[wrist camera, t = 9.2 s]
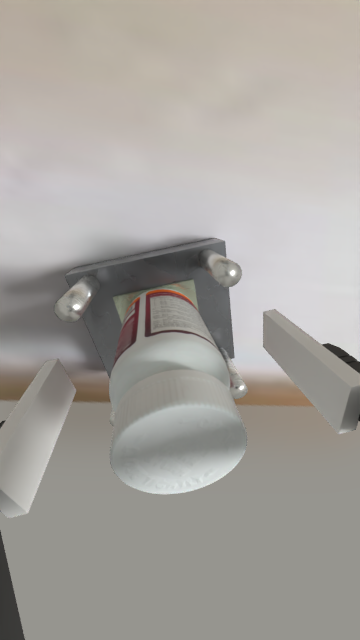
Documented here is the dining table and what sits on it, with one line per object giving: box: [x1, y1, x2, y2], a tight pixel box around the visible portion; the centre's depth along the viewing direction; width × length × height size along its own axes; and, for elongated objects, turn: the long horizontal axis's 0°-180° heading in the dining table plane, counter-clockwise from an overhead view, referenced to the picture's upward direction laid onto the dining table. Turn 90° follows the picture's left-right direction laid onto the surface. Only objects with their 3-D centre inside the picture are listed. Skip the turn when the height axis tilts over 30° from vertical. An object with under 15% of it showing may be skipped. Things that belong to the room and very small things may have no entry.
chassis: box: [54, 238, 248, 426], centre depth 17 cm, size 11×12×8 cm
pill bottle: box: [109, 288, 247, 494], centre depth 13 cm, size 6×6×11 cm
